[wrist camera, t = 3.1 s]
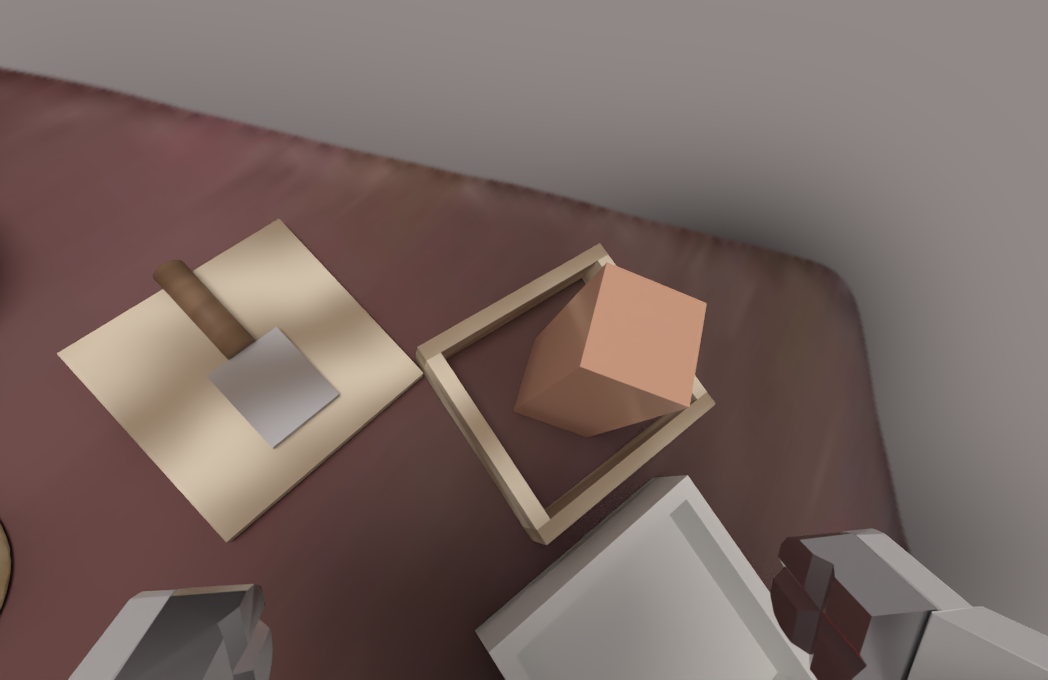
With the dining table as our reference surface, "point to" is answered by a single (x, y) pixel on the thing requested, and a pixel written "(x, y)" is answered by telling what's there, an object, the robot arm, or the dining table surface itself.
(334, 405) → the lid with scoop
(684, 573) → the white square tray
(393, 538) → the dining table surface
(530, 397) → the terracotta brick
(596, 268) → the birch bin
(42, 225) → the dining table surface
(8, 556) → the hand bell
